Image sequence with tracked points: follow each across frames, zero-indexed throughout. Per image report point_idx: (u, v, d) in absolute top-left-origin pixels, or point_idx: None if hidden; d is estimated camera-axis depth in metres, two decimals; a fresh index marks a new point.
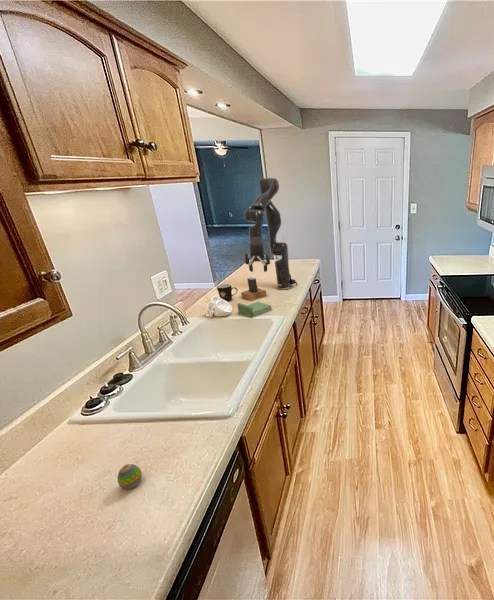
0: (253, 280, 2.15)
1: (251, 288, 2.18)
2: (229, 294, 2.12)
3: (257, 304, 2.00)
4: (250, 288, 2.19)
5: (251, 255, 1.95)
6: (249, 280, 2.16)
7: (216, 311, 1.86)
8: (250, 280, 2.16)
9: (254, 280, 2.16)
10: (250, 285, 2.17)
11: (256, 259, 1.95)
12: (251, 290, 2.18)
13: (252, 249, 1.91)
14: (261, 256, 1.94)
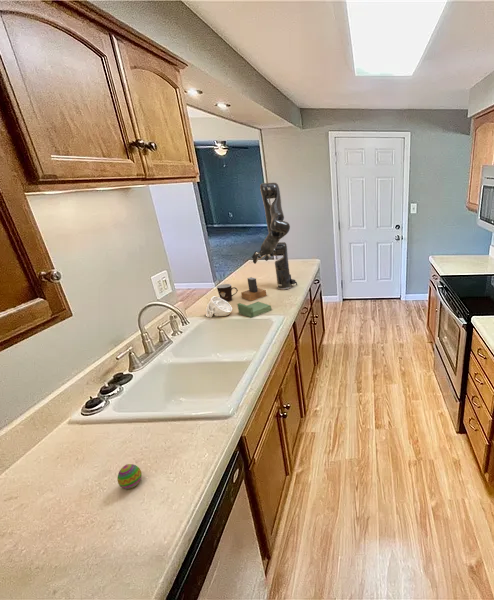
0: (253, 280, 2.15)
1: (251, 288, 2.18)
2: (229, 294, 2.12)
3: (257, 304, 2.00)
4: (250, 288, 2.19)
5: (262, 253, 1.98)
6: (249, 280, 2.16)
7: (216, 311, 1.86)
8: (250, 280, 2.16)
9: (254, 280, 2.16)
10: (250, 285, 2.17)
11: None
12: (251, 290, 2.18)
13: (269, 252, 1.97)
14: None
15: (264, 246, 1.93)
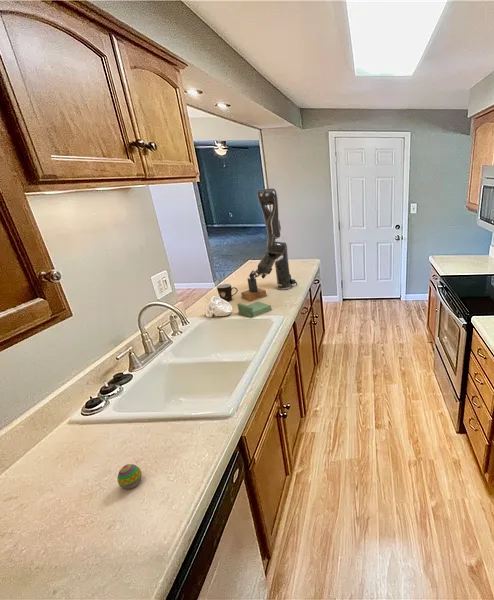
0: None
1: (251, 288, 2.18)
2: (229, 294, 2.12)
3: (257, 304, 2.00)
4: (250, 288, 2.19)
5: (259, 272, 2.05)
6: (249, 280, 2.16)
7: (216, 311, 1.86)
8: (250, 280, 2.16)
9: (254, 280, 2.16)
10: (250, 285, 2.17)
11: (261, 273, 2.09)
12: (251, 290, 2.18)
13: (266, 271, 2.04)
14: None
15: (261, 266, 2.01)
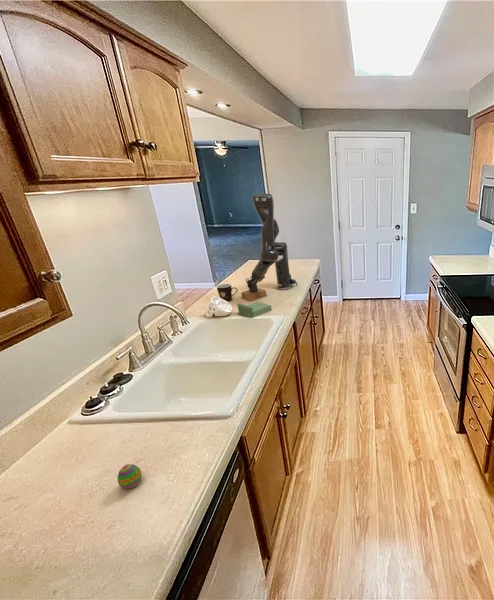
0: None
1: (251, 288, 2.18)
2: (229, 294, 2.12)
3: (257, 304, 2.00)
4: (250, 288, 2.19)
5: (253, 279, 2.11)
6: None
7: (216, 311, 1.86)
8: None
9: None
10: None
11: None
12: (251, 290, 2.18)
13: (260, 278, 2.10)
14: None
15: (255, 272, 2.06)
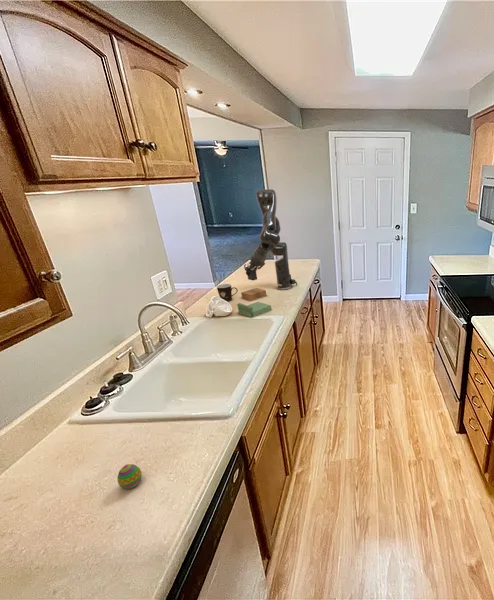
0: None
1: (250, 276, 1.99)
2: (229, 294, 2.12)
3: (257, 304, 2.00)
4: (248, 276, 2.00)
5: (252, 265, 1.92)
6: None
7: (216, 311, 1.86)
8: None
9: None
10: None
11: None
12: (250, 278, 2.00)
13: (259, 264, 1.92)
14: None
15: (254, 258, 1.88)
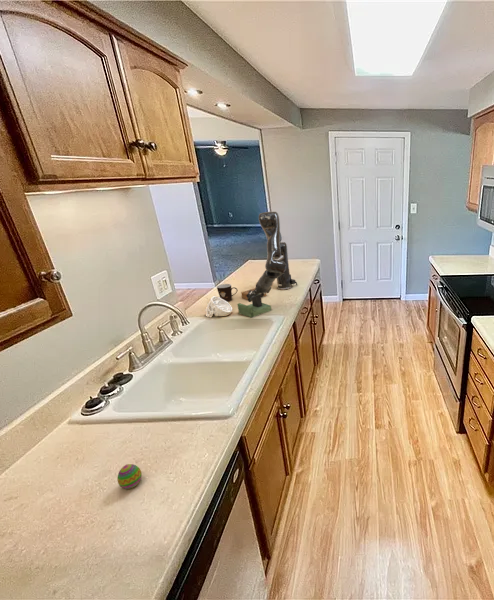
0: None
1: (255, 303, 1.95)
2: (229, 294, 2.12)
3: None
4: (253, 303, 1.96)
5: (257, 292, 1.88)
6: None
7: (216, 311, 1.86)
8: None
9: None
10: (253, 299, 1.95)
11: None
12: (255, 305, 1.96)
13: (265, 291, 1.87)
14: None
15: (259, 285, 1.84)
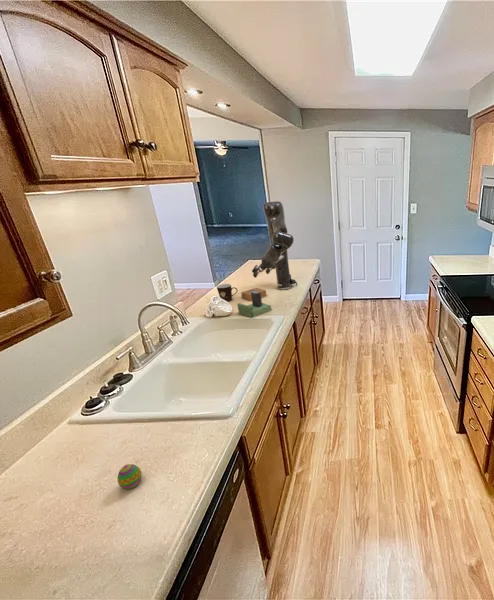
0: (257, 294, 1.93)
1: (255, 303, 1.95)
2: (229, 294, 2.12)
3: None
4: (253, 303, 1.96)
5: (263, 267, 1.83)
6: (253, 294, 1.94)
7: (216, 311, 1.86)
8: (254, 294, 1.93)
9: (258, 294, 1.94)
10: (253, 299, 1.95)
11: (266, 268, 1.86)
12: (255, 305, 1.96)
13: (271, 266, 1.82)
14: None
15: (265, 260, 1.78)
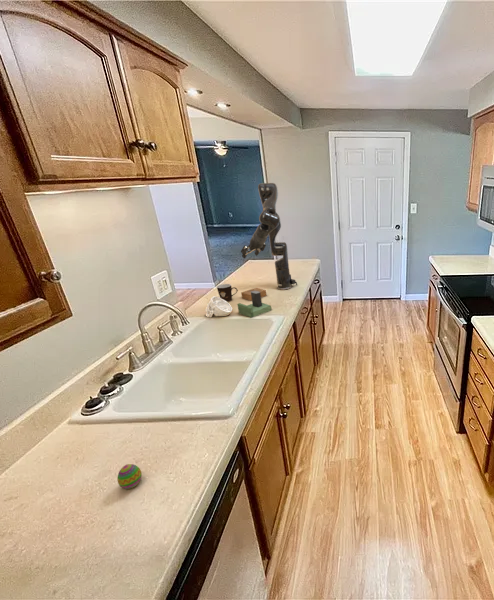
0: (257, 294, 1.93)
1: (255, 303, 1.95)
2: (229, 294, 2.12)
3: None
4: (253, 303, 1.96)
5: (251, 248, 1.92)
6: (253, 294, 1.94)
7: (216, 311, 1.86)
8: (254, 294, 1.93)
9: (258, 294, 1.94)
10: (253, 299, 1.95)
11: (254, 249, 1.96)
12: (255, 305, 1.96)
13: (259, 246, 1.91)
14: None
15: (253, 240, 1.88)
